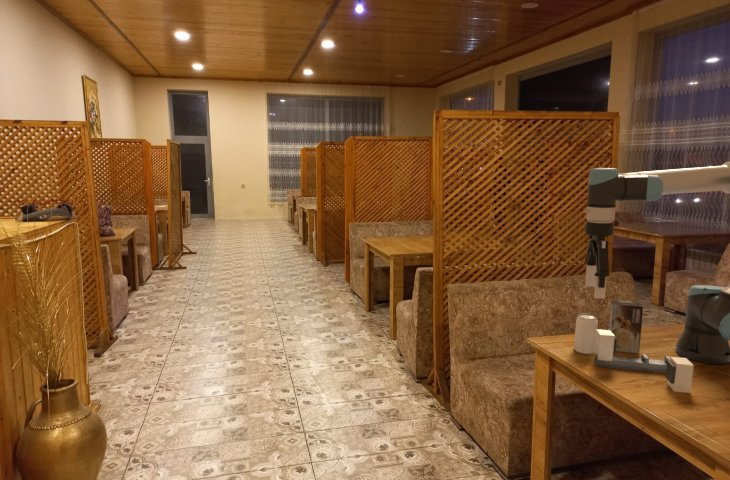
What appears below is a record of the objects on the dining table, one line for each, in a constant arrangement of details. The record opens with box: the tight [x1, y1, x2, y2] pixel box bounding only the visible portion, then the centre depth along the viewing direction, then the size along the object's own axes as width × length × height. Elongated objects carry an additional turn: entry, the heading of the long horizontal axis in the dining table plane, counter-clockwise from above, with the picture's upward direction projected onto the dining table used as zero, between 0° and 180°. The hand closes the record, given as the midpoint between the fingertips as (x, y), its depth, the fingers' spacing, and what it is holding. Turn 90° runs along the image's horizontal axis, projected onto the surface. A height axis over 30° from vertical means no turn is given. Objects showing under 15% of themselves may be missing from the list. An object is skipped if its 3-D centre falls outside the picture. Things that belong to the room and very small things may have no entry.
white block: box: [665, 356, 695, 394], centre depth 140 cm, size 5×5×8 cm
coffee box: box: [608, 299, 644, 354], centre depth 167 cm, size 9×6×16 cm
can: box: [573, 313, 599, 355], centre depth 165 cm, size 6×6×12 cm
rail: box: [593, 328, 671, 374], centre depth 153 cm, size 21×5×10 cm, turn 78°
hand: (594, 292), depth 150 cm, fingers open, 13 cm apart
